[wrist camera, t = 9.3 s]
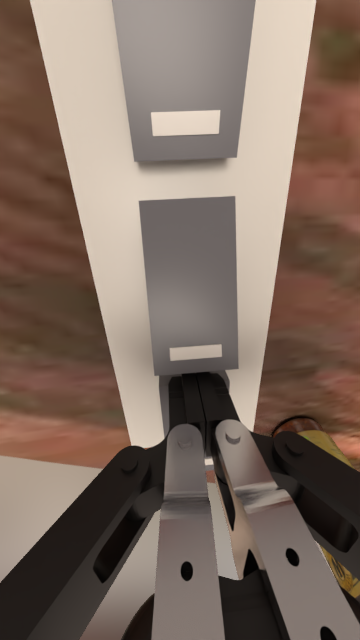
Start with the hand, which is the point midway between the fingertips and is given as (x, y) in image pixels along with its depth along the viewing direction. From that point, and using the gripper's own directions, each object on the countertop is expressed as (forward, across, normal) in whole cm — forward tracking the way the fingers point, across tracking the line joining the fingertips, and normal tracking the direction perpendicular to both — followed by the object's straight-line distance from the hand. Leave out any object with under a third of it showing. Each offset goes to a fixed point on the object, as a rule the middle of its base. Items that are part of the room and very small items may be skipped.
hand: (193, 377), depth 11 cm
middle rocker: (+1, 0, -5) cm, 5 cm away
